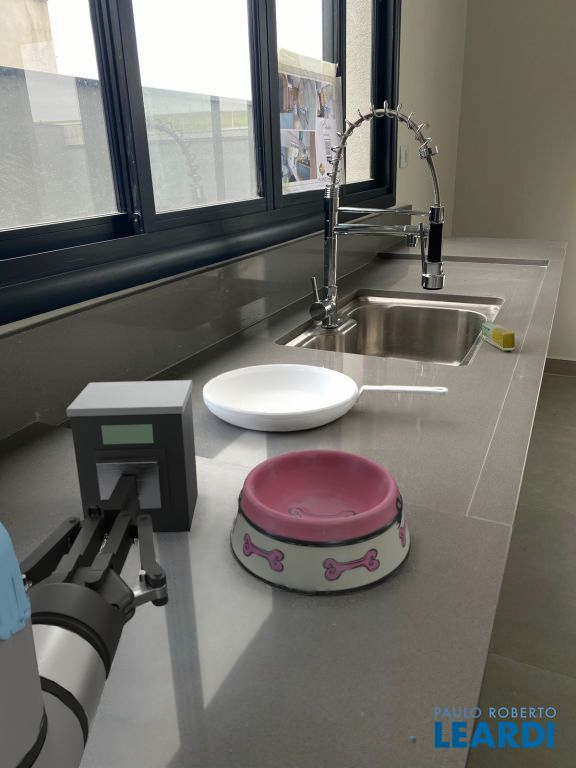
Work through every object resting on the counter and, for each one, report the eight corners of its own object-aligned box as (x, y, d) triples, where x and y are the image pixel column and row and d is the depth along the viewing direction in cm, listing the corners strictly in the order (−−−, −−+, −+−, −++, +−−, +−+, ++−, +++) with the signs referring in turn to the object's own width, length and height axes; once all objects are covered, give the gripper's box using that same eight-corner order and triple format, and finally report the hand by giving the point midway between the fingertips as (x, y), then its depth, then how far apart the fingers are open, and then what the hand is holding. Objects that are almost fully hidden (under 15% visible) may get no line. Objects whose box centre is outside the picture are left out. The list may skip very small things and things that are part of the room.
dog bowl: (412, 606, 53) (417, 538, 50) (207, 585, 56) (203, 520, 53) (409, 501, 70) (412, 447, 68) (252, 490, 73) (250, 438, 71)
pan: (224, 382, 112) (223, 360, 111) (439, 389, 107) (440, 366, 106) (183, 435, 89) (181, 408, 88) (455, 448, 83) (458, 419, 82)
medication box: (481, 339, 140) (480, 322, 139) (492, 337, 141) (492, 321, 139) (503, 351, 129) (503, 333, 128) (515, 350, 129) (515, 331, 128)
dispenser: (191, 533, 64) (182, 406, 59) (83, 537, 64) (65, 409, 59) (200, 494, 72) (192, 379, 68) (103, 497, 72) (89, 382, 67)
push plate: (161, 508, 61) (157, 462, 60) (101, 510, 61) (96, 463, 60) (163, 502, 63) (159, 456, 61) (104, 504, 62) (99, 458, 61)
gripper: (-46, 717, 39) (68, 523, 61) (157, 709, 39) (196, 519, 62) (-70, 622, 37) (58, 455, 59) (146, 614, 37) (191, 452, 59)
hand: (128, 488), depth 60 cm, fingers closed
